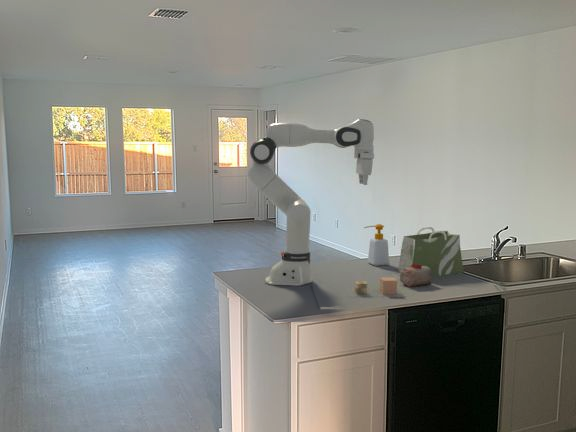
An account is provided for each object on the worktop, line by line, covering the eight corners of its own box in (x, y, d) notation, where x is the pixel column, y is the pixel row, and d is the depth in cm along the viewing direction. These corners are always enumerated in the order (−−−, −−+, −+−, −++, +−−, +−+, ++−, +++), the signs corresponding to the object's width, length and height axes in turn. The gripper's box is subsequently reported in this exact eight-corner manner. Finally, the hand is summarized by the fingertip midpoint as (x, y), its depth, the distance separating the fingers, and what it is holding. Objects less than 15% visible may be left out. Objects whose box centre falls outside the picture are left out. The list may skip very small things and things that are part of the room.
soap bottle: (359, 263, 308) (360, 223, 305) (382, 262, 312) (383, 222, 309) (367, 266, 299) (367, 226, 296) (390, 265, 303) (391, 225, 300)
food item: (408, 288, 254) (409, 266, 253) (398, 284, 261) (399, 263, 260) (432, 285, 260) (433, 264, 258) (422, 281, 267) (422, 261, 266)
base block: (382, 294, 238) (383, 280, 238) (380, 290, 244) (380, 277, 244) (396, 294, 239) (397, 280, 238) (393, 290, 245) (393, 277, 244)
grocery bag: (412, 278, 274) (413, 231, 271) (396, 272, 286) (398, 227, 284) (465, 273, 285) (467, 228, 283) (447, 267, 298) (449, 225, 295)
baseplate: (349, 299, 234) (349, 297, 234) (344, 290, 248) (344, 288, 248) (405, 298, 235) (406, 296, 235) (397, 290, 249) (398, 288, 249)
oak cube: (356, 294, 239) (356, 283, 238) (354, 291, 243) (355, 281, 243) (367, 294, 239) (367, 283, 238) (365, 291, 243) (365, 281, 243)
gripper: (353, 154, 269) (352, 182, 271) (361, 154, 249) (360, 185, 250) (366, 154, 269) (365, 182, 271) (374, 154, 249) (374, 185, 251)
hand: (363, 184), depth 261 cm, fingers open, 8 cm apart
